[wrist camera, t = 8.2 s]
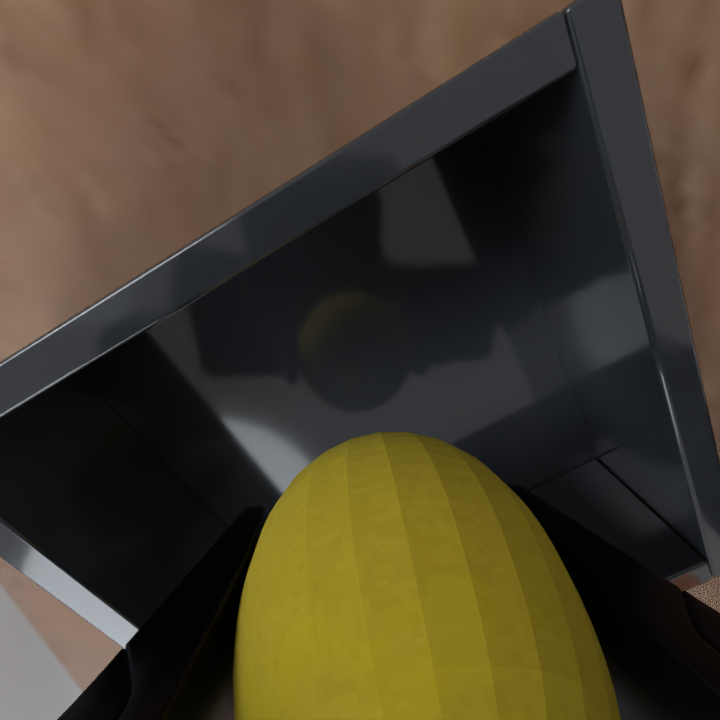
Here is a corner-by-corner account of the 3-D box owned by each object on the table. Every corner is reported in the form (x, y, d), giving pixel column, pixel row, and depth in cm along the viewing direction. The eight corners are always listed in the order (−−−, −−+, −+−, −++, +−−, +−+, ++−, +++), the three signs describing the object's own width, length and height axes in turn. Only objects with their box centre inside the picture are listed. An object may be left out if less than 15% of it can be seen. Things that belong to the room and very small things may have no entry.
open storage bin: (477, 87, 10) (619, -29, 5) (607, 450, 15) (743, 568, 10) (52, 351, 12) (-144, 452, 7) (292, 600, 17) (278, 764, 12)
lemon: (390, 568, 12) (497, 1180, 4) (232, 487, 10) (-21, 1225, 3) (517, 443, 10) (987, 1023, 3) (358, 328, 9) (516, 940, 1)
